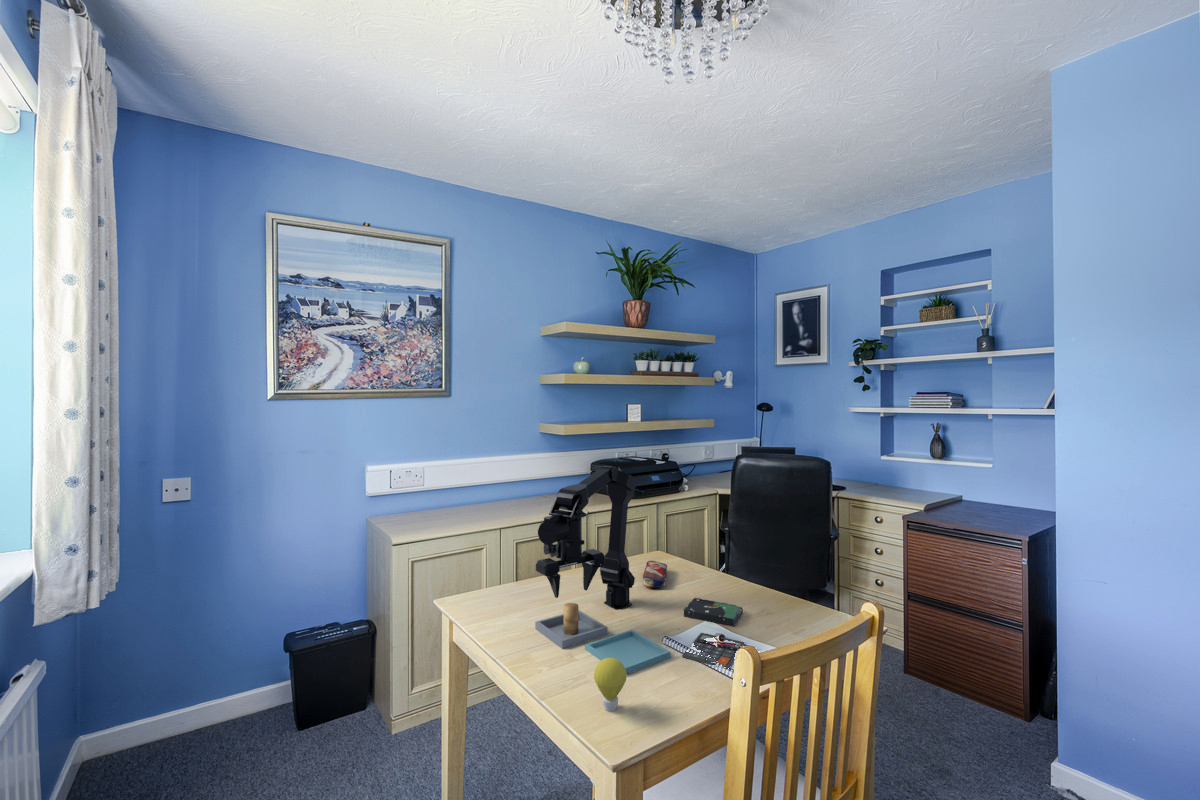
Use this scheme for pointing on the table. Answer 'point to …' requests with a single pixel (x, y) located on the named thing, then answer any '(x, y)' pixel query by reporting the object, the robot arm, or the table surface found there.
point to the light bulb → (610, 681)
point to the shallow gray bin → (555, 633)
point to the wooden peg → (571, 618)
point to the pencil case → (655, 574)
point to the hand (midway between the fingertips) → (571, 593)
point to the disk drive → (713, 612)
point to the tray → (629, 650)
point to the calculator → (713, 651)
